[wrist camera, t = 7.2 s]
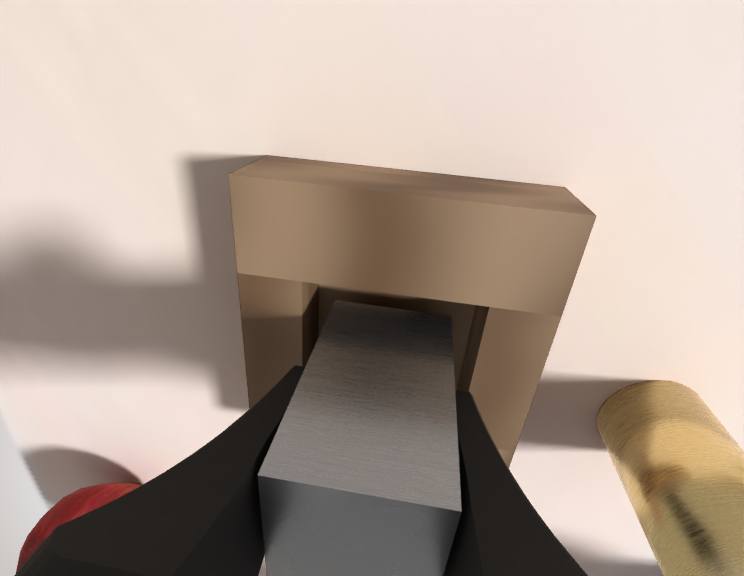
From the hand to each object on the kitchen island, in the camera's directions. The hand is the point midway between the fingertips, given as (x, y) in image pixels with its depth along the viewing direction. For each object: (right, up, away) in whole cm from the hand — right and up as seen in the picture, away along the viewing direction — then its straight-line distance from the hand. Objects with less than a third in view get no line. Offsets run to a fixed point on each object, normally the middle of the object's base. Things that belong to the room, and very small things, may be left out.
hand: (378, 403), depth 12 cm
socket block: (+1, +2, +4) cm, 5 cm away
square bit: (0, +1, +2) cm, 3 cm away
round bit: (+11, -2, +5) cm, 12 cm away
